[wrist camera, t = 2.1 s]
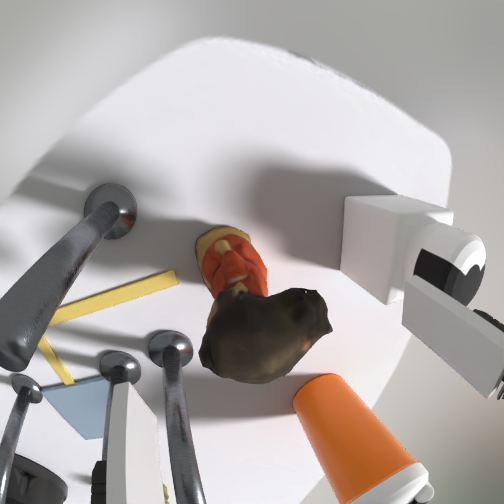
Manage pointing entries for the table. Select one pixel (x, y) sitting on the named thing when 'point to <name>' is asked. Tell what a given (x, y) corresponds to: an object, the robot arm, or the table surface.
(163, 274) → the guide line
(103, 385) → the pad
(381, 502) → the shaker bottle
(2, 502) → the gate
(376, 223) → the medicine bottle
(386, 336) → the table surface
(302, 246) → the table surface
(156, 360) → the gate
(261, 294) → the figurine
